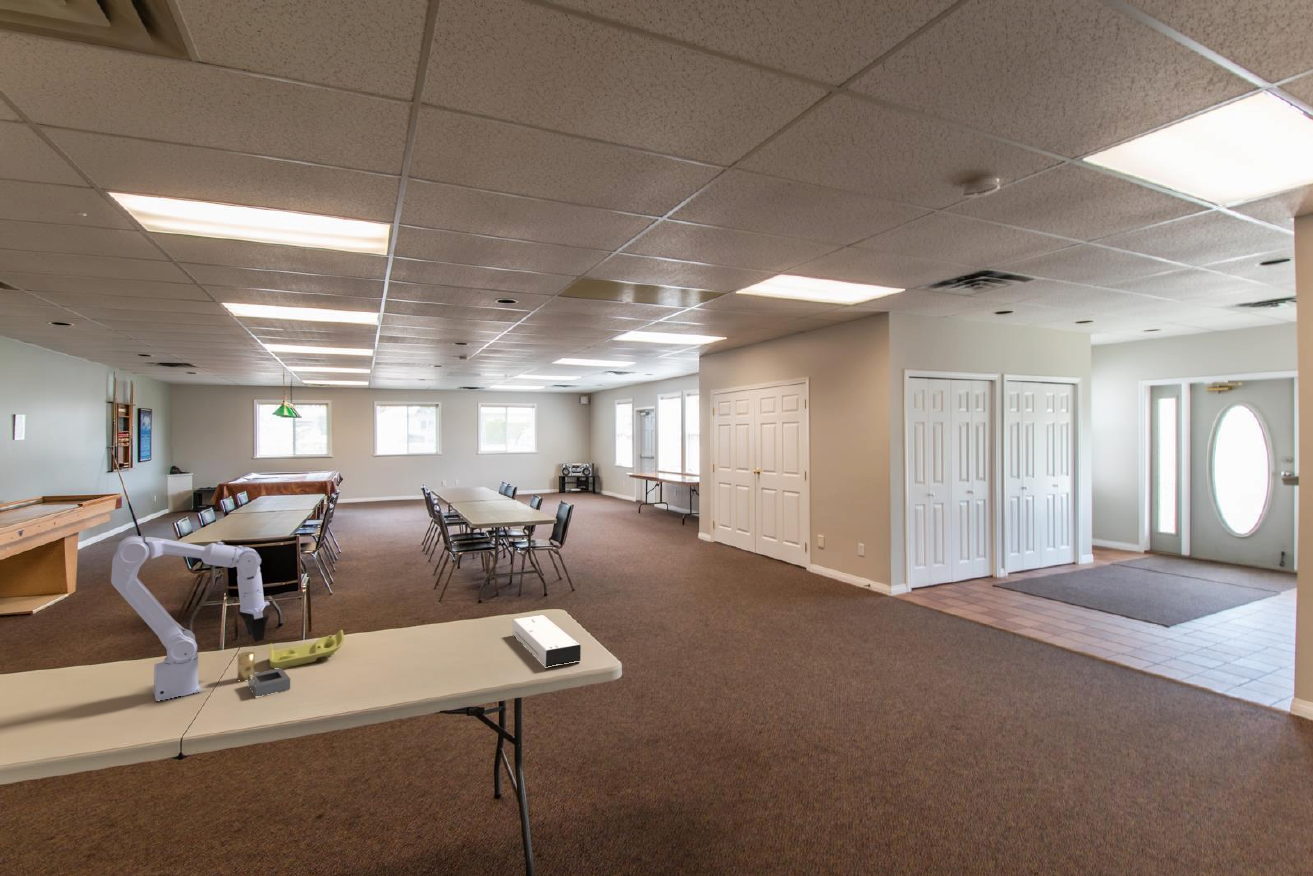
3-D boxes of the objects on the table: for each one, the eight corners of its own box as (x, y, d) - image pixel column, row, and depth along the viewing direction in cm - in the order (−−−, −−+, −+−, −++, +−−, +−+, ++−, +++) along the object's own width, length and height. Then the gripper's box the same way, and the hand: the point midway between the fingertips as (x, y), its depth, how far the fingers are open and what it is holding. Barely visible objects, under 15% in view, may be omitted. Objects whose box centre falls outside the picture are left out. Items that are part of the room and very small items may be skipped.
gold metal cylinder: (238, 683, 172) (239, 658, 172) (236, 678, 175) (236, 654, 175) (255, 679, 174) (256, 654, 174) (252, 674, 177) (253, 650, 177)
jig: (255, 698, 163) (255, 687, 162) (248, 686, 170) (248, 675, 170) (290, 689, 168) (290, 678, 168) (281, 678, 175) (281, 667, 175)
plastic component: (269, 664, 180) (269, 640, 187) (271, 682, 183) (271, 657, 190) (345, 648, 189) (342, 625, 197) (346, 665, 193) (343, 643, 200)
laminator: (512, 636, 215) (512, 619, 215) (546, 631, 221) (546, 614, 221) (545, 671, 185) (546, 650, 185) (583, 663, 192) (584, 644, 191)
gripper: (273, 592, 172) (278, 639, 173) (261, 582, 183) (266, 626, 184) (243, 599, 168) (248, 647, 169) (233, 588, 178) (238, 634, 179)
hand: (256, 637), depth 176 cm, fingers open, 7 cm apart
